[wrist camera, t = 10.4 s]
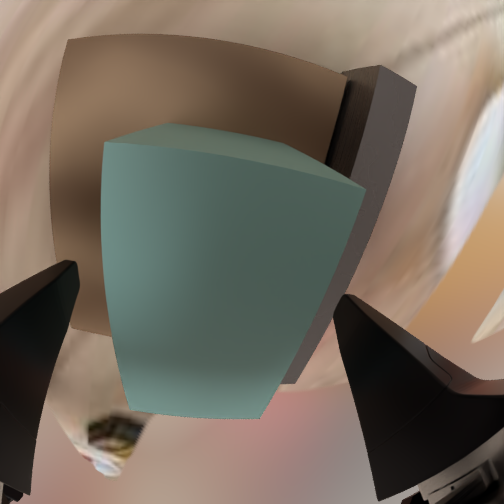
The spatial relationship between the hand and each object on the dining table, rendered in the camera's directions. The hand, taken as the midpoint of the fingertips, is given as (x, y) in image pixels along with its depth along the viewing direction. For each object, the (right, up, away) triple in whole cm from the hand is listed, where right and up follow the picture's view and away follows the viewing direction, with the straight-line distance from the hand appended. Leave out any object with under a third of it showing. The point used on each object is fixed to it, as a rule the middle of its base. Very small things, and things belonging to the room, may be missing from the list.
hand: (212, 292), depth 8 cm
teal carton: (-1, +2, +4) cm, 5 cm away
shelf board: (-3, +3, +5) cm, 6 cm away
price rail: (+5, +2, +7) cm, 8 cm away
